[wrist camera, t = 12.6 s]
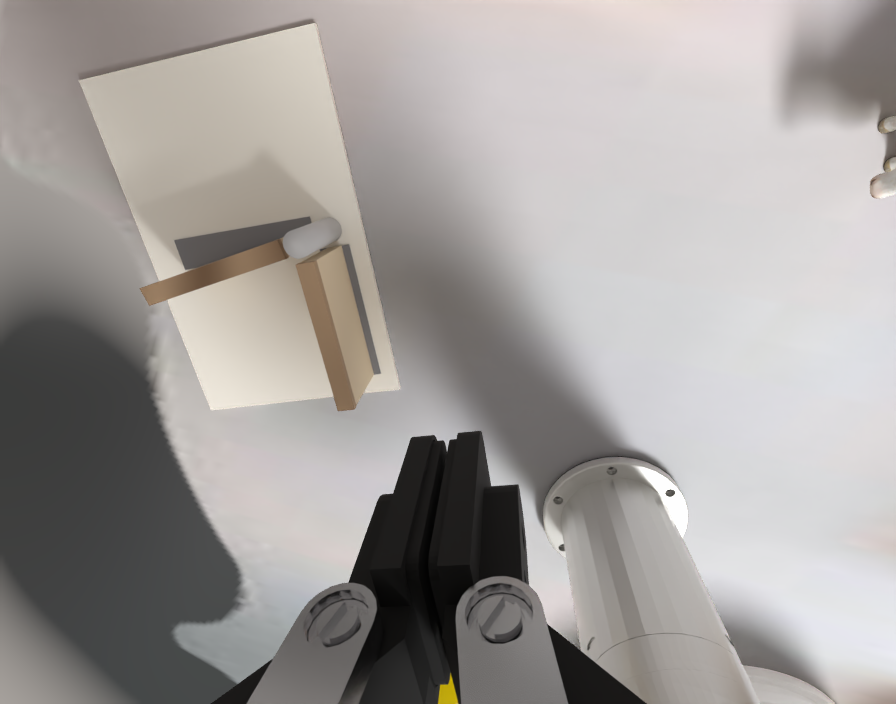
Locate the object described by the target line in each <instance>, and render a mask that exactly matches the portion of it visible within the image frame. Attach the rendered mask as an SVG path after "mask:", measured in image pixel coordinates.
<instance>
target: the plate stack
mask: <svg viewBox="0 0 896 704" xmlns="http://www.w3.org/2000/svg"><path fill="white" fill-rule="evenodd" d="M743 667H744V669H745V671H746V673H747V675H748V677H749V679H750V682H751V684H752V686H753V688H754V690H755V692H756V694H757V696H758V698H759V700H760V703H761V704H835V703H834V702H833V701H832V700H831V699H830V698H829V697H828V696H827V695H825V694H824V693H823V692H821V691H820V690H818V689H817V688H815V687H814V686H812V685H810V684H808V683H806V682H804V681H802V680H800V679H798V678H795V677H793V676H790V675H787V674H784V673H781V672H777V671H774V670H769V669H765V668H760V667H753V666H746V665H743Z"/></svg>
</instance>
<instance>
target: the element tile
mask: <svg viewBox="0 0 896 704" xmlns="http://www.w3.org/2000/svg"><path fill="white" fill-rule="evenodd" d="M438 704H458V700H457V696H456V692H455V688H454V684H453V680H452V676H451V673H450V681H449V684H448V685H440V691H439V700H438Z"/></svg>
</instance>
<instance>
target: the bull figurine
mask: <svg viewBox="0 0 896 704" xmlns="http://www.w3.org/2000/svg"><path fill="white" fill-rule="evenodd" d="M878 129H879V132H880V133H888V132H891V131H895V130H896V115H895V116H892V117H888V118H885V119H883V120H882V121H881V122H880V124H879V126H878ZM884 170H885V172H887V173H882V174H879V175H877V176H875V177H873V178H872V179H871V181H870V194H871V196H872V197H873V198H876V199H881V198H884V197H888V196H891V195H896V157H892V158H890V159H888V160H887V161H886V163H885V165H884Z"/></svg>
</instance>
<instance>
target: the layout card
mask: <svg viewBox="0 0 896 704" xmlns="http://www.w3.org/2000/svg"><path fill="white" fill-rule="evenodd" d="M79 82H80V85H81V87H82V90H83V92H84V95H85V97H86V100H87V102H88V105H89V107H90V110H91V112H92V115H93V117H94V120H95V122H96V125H97V127H98V130H99V132H100V135H101V137H102V140H103V142H104V145H105V147H106V150H107V152H108V155H109V157H110V160H111V162H112V165H113V167H114V170H115V172H116V175H117V177H118V180H119V182H120V185H121V187H122V190H123V192H124V195H125V197H126V200H127V202H128V205H129V207H130V210H131V212H132V215H133V217H134V220H135V222H136V224H137V227H138V229H139V232H140V234H141V237H142V239H143V242H144V244H145V247H146V249H147V252H148V254H149V257H150V259H151V262H152V264H153V267H154V269H155V272H156V274H157V277H158V279H159V281H162V280H165V279H168V278H171V277H173V276H176V275H179V274H182V273H184V272H187V271H190V270H193V269H195V268H198V267H201V266H204V265H207V264H210V263H212V262H215V261H218V260H221V259H224V258H227V257H229V256H232V255H235V254H238V253H241V252H244V251H246V250H249V249H252V248H255V247H258V246H261V245H263V244H266V243H269V242H272V241H275V240H277V239H280V238H283V237H284V238H283V247H284V249H285V251H286V253H287V254H288V255H289V258H287V259H285V260H282V261H279V262H276V263H273V264H270V265H267V266H264V267H261V268H258V269H255V270H253V271H250V272H247V273H244V274H241V275H238V276H235V277H232V278H229V279H226V280H223V281H220V282H217V283H215V284H212V285H209V286H206V287H203V288H200V289H197V290H194V291H191V292H188V293H185V294H182V295H179V296H177V297H174V298H171V299H168V300H167V302H168V304H169V307H170V309H171V312H172V314H173V317H174V319H175V322H176V324H177V327H178V329H179V332H180V334H181V337H182V339H183V342H184V344H185V347H186V349H187V352H188V354H189V357H190V359H191V362H192V364H193V367H194V369H195V372H196V374H197V377H198V379H199V382H200V384H201V387H202V389H203V392H204V394H205V397H206V399H207V402H208V404H209V407H210V409H211V410H218V409H227V408H237V407H246V406H255V405H264V404H273V403H282V402H291V401H300V400H309V399H318V398H327V397H334V400H335V403H336V406H337V410H338V411H344V410H354V409H355V408H356V405H357V403H358V402H359V400H360V398H361V396H362V395H363V394H364V393H373V392H382V391H391V390H400V388H401V386H400V382H399V377H398V373H397V369H396V364H395V360H394V356H393V352H392V347H391V343H390V339H389V334H388V330H387V326H386V321H385V317H384V313H383V308H382V304H381V300H380V295H379V291H378V287H377V282H376V278H375V274H374V269H373V265H372V261H371V256H370V252H369V248H368V243H367V239H366V235H365V230H364V226H363V222H362V217H361V213H360V209H359V204H358V200H357V196H356V191H355V187H354V183H353V179H352V174H351V170H350V166H349V161H348V157H347V153H346V148H345V144H344V140H343V135H342V131H341V127H340V122H339V118H338V114H337V109H336V105H335V101H334V96H333V92H332V88H331V83H330V79H329V75H328V70H327V66H326V62H325V57H324V53H323V49H322V44H321V40H320V36H319V31H318V27H317V24H316V23H311V24H307V25H303V26H299V27H295V28H291V29H287V30H283V31H279V32H274V33H270V34H266V35H262V36H258V37H254V38H250V39H246V40H242V41H238V42H234V43H229V44H225V45H221V46H217V47H213V48H209V49H205V50H201V51H197V52H193V53H189V54H184V55H180V56H176V57H172V58H168V59H164V60H160V61H156V62H152V63H148V64H144V65H139V66H135V67H131V68H127V69H123V70H119V71H115V72H111V73H107V74H103V75H99V76H94V77H90V78H86V79H82V80H79Z"/></svg>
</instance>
